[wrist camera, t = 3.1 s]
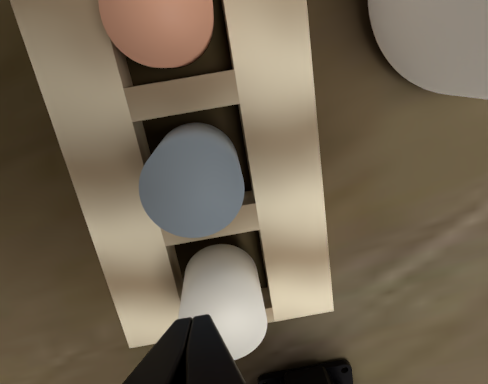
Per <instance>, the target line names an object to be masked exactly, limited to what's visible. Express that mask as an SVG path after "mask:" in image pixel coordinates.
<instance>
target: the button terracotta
mask: <svg viewBox="0 0 488 384" xmlns="http://www.w3.org/2000/svg"><path fill="white" fill-rule="evenodd" d="M98 3H99V12H100V16H101V20H102V23H103V26H104V28H105V30H106V32H107V34H108V36H109V37H110V39H111V40H112V42H113V43H114V44H115V46H116V47H117V48H118V49H119V50H120V51H121V52H122V53H124V54H125V55H126V56H127V57H129V58H130V59H132V60H134V61H135V62H138V63H140V64H142V65H145V66H149V67H155V68H178V67H183V66H186V65H189V64H191V63H193V62H195V61H196V60H197V59H198V58H200V57H201V56H202V55H203V53H204V52H205V51H206V49H207V48H208V46H209V44H210V41H211V39H212V35H213V29H214V15H213V1H212V0H98Z"/></svg>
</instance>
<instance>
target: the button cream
mask: <svg viewBox="0 0 488 384" xmlns="http://www.w3.org/2000/svg"><path fill="white" fill-rule="evenodd" d="M205 314H209V315H210V316H211V318H212V320H213V322H214V324H215V325H216V327H217V329H218V331H219V333H220V335H221V337H222V339H223V341H224V342H225V344H226V346H227V348H228V350H229V352H230V354H231V356H232V357H233V359H234V360H236V359H239V358H242V357H244V356H246V355H248V354H249V353H251V352H252V351H253V350H255V349H256V348H257V347H258V346H259V344H260V343H261V342H262V340H263V338H264V336H265V334H266V330H267V317H266V312H265V307H264V302H263V297H262V292H261V287H260V282H259V277H258V272H257V268H256V265H255V262H254V261H253V259H252V258H251V256H250V255H249V254H248V253H247V252H245V251H244V250H242V249H241V248H239V247H236V246H233V245H228V244H216V245H211V246H208V247H205V248H203V249H201V250H200V251H198V252H197V253H196V254H195V255H193V257H192V258H191V259H190V261H189V262H188V264H187V266H186V270H185V275H184V282H183V288H182V295H181V302H180V308H179V315H178V319H181V318H187V317H191V318H192V319H193V317H195V316H199V315H205Z"/></svg>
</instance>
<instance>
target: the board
mask: <svg viewBox="0 0 488 384" xmlns="http://www.w3.org/2000/svg"><path fill="white" fill-rule="evenodd" d="M221 2H222V8H223V14H224V20H225V26H226V33H227V39H228V45H229V51H230V57H231V64H232V70H226V71H220V72H214V73H208V74H202V75H196V76H191V77H185V78H179V79H173V80H167V81H161V82H155V83H149V84H144V85H138V86H133V84H132V80H131V76H130V72H129V68H128V64H127V60H126V56H125V54H124V53H122V52H121V51H120V50H119V49H118V48H117V47H116V46H115V44H114V43H113V42H112V40H111V39H110V37H109V36H108V34H107V32H106V30H105V28H104V26H103V23H102V20H101V16H100V12H99V3H98V0H10V3H11V6H12V9H13V11H14V14H15V17H16V20H17V23H18V26H19V29H20V32H21V35H22V38H23V40H24V43H25V46H26V49H27V52H28V55H29V58H30V61H31V64H32V67H33V69H34V72H35V75H36V78H37V81H38V84H39V87H40V90H41V93H42V96H43V98H44V101H45V104H46V107H47V110H48V113H49V116H50V119H51V122H52V125H53V127H54V130H55V133H56V136H57V139H58V142H59V145H60V148H61V151H62V154H63V156H64V159H65V162H66V165H67V168H68V171H69V174H70V177H71V180H72V183H73V185H74V188H75V191H76V194H77V197H78V200H79V203H80V206H81V209H82V212H83V214H84V217H85V220H86V223H87V226H88V229H89V232H90V235H91V238H92V241H93V243H94V246H95V249H96V252H97V255H98V258H99V261H100V264H101V267H102V270H103V272H104V275H105V278H106V281H107V284H108V287H109V290H110V293H111V296H112V299H113V301H114V304H115V307H116V310H117V313H118V316H119V319H120V322H121V325H122V328H123V330H124V333H125V336H126V339H127V342H128V345H129V348H134V347H139V346H145V345H150V344H156V343H157V341H158V340H159V339H160V338H161V337H162V335H163V334H164V333H165V332H166V331H167V329H168V328H169V327H170V326H171V325H172V323H173V322H174V321H175V320H177V319H178V315H179V308H180V302H181V295H182V288H183V278H182V274H181V270H180V267H179V263H178V259H177V255H176V251H175V247H174V245H176V244H182V243H188V242H193V241H199V240H204V239H210V238H216V237H221V236H227V235H233V234H238V233H244V232H249V231H255V230H258V231H259V237H260V243H261V249H262V256H263V262H264V268H265V274H266V280H267V287H266V288H261V292H262V297H263V302H264V307H265V312H266V317H267V323H270V322H276V321H281V320H287V319H292V318H298V317H303V316H309V315H314V314H320V313H325V312H330V311H334V308H333V296H332V285H331V273H330V262H329V251H328V239H327V228H326V216H325V205H324V193H323V182H322V171H321V159H320V148H319V136H318V125H317V114H316V102H315V91H314V79H313V68H312V56H311V45H310V34H309V22H308V11H307V0H221ZM235 104H238V107H239V113H240V119H241V126H242V132H243V138H244V144H245V150H246V157H247V163H248V169H249V175H250V181H251V188H252V190H251V191H246V192H244V199H243V203H242V206H241V208H240V210H239V212H238V214H237V215H236V217H235V218H234V219H233V221H232V222H231V223H230V224H229V225H227V226H226V227H225V228H223V229H222V230H220V231H219V232H217V233H214V234H212V235H209V236H205V237H199V238H187V237H180V236H176V235H174V234H171V233H169V232H167V231H165V230H163V229H162V228H160V227H159V226H158V225H156V224H155V223H154V222H153V221H152V220H151V219H150V218H149V216H148V215H147V213H146V212H145V210H144V208H143V206H142V203H141V200H140V196H139V179H140V174H141V171H142V169H143V167H144V165H145V163H146V161H147V160H148V159H149V157H150V156H151V154H150V150H149V146H148V142H147V138H146V134H145V130H144V126H143V123H142V120H148V119H154V118H160V117H165V116H171V115H177V114H183V113H189V112H194V111H200V110H206V109H212V108H218V107H224V106H229V105H235Z"/></svg>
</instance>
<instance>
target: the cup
mask: <svg viewBox="0 0 488 384" xmlns="http://www.w3.org/2000/svg"><path fill="white" fill-rule="evenodd" d="M368 10H369V17H370V22H371V26H372V30H373V33H374V36H375V39H376V41H377V44H378V46H379V48H380V50H381V51H382V53H383V55H384V56H385V58H386V59H387V61H388V62H389V63H390V64H391V66H392V67H393V68H394V69H395V70H396V71H397V72H398V73H399V74H400V75H402V76H403V77H404V78H405V79H407V80H408V81H410V82H411V83H413V84H415V85H416V86H418V87H421V88H423V89H425V90H429V91H432V92H436V93H440V94H446V95H454V96H463V97H471V98H480V99H488V0H368Z"/></svg>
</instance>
